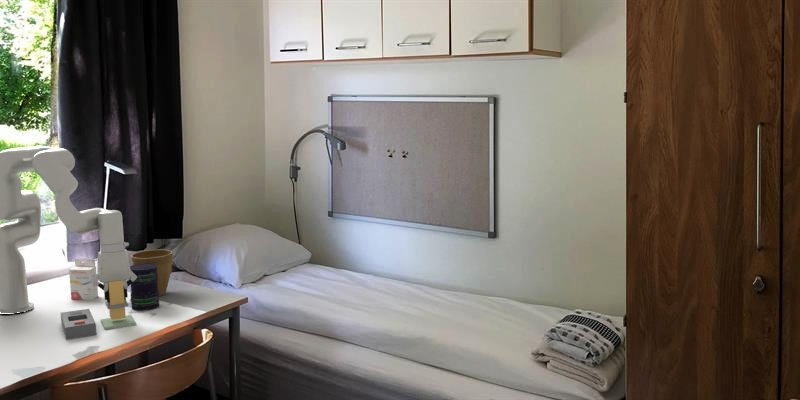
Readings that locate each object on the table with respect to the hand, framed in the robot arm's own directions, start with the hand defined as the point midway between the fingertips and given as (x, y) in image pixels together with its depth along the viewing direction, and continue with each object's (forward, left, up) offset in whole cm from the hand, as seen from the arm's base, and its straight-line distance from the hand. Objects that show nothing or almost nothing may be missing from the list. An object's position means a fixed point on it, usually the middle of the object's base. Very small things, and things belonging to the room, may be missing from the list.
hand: (116, 300), depth 263 cm
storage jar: (-15, +12, -8) cm, 21 cm away
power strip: (0, -12, -8) cm, 15 cm away
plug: (0, 0, -6) cm, 6 cm away
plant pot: (-30, +18, -8) cm, 36 cm away
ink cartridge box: (-39, -6, -8) cm, 40 cm away
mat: (0, 0, -8) cm, 8 cm away
